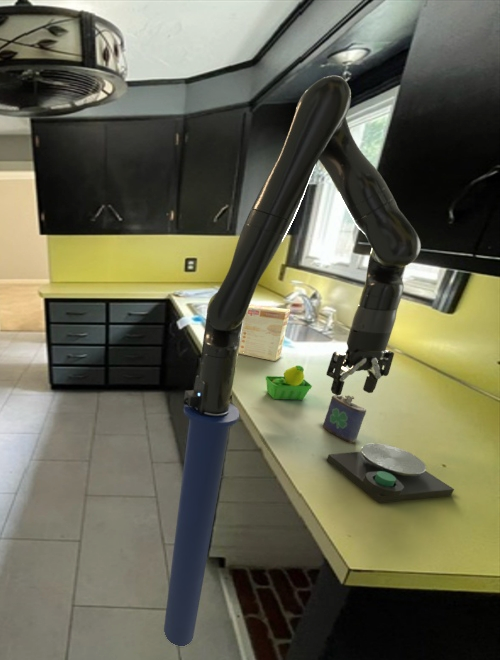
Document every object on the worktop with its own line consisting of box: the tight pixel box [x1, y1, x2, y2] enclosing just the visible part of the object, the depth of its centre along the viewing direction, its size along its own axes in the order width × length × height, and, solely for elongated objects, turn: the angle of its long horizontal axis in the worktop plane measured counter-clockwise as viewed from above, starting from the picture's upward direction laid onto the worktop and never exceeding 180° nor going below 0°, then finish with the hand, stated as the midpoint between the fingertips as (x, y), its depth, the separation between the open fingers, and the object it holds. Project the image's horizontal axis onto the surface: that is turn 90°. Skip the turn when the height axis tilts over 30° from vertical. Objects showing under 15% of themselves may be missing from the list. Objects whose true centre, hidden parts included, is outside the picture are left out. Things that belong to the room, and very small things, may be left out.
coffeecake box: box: [238, 304, 291, 362], centre depth 144 cm, size 15×7×20 cm, turn 49°
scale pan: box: [360, 442, 427, 476], centre depth 77 cm, size 11×11×1 cm
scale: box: [326, 451, 455, 504], centre depth 76 cm, size 16×14×3 cm
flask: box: [322, 394, 367, 444], centre depth 90 cm, size 9×3×11 cm, turn 13°
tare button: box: [374, 471, 396, 487], centre depth 70 cm, size 3×3×2 cm
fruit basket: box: [265, 365, 313, 401], centre depth 110 cm, size 11×9×11 cm
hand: (351, 392), depth 88 cm, fingers open, 8 cm apart
